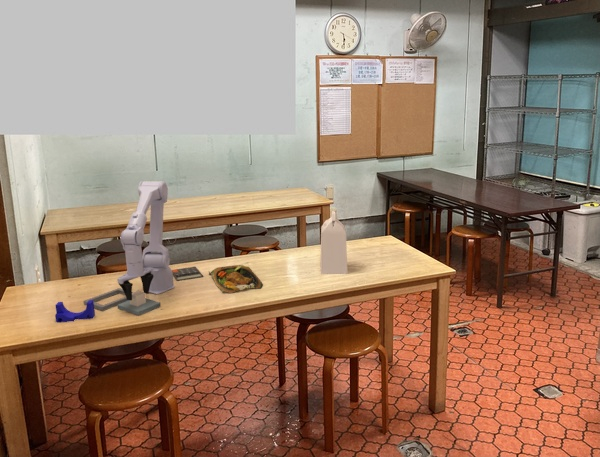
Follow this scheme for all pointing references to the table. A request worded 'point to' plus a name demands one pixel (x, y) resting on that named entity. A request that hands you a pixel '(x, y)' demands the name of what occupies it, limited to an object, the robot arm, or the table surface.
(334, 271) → the milk
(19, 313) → the table surface
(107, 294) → the pocket frame
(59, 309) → the cable clip
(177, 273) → the calculator
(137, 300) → the cream block
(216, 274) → the prepared meal
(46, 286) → the table surface
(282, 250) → the table surface
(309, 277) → the table surface
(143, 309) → the slate pad
